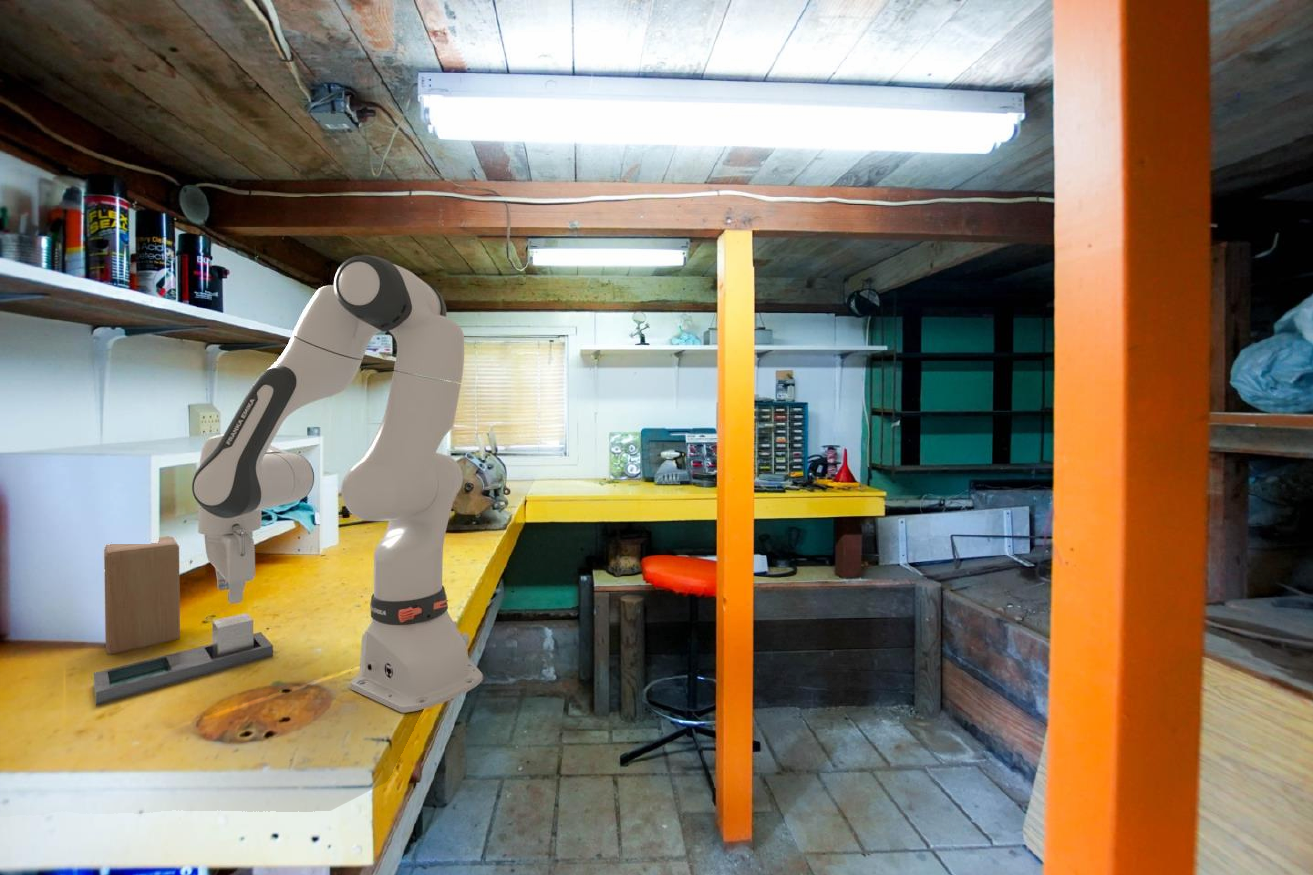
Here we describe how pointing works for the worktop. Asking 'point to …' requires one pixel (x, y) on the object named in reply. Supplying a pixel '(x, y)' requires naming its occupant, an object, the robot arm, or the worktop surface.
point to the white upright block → (232, 635)
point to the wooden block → (141, 594)
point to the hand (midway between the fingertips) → (229, 595)
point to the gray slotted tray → (172, 670)
